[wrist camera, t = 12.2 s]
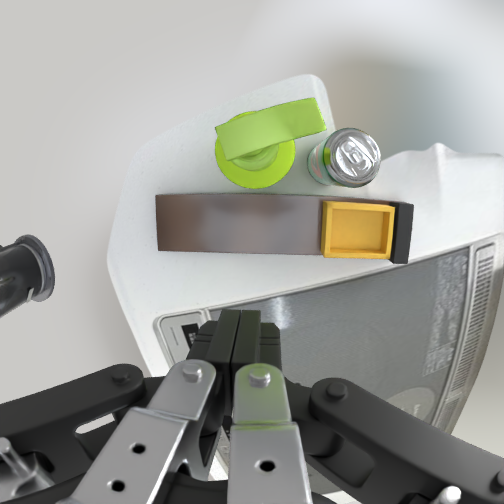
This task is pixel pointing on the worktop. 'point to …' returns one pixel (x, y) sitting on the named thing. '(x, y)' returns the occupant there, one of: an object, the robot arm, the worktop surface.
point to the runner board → (244, 222)
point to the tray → (356, 230)
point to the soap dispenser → (265, 142)
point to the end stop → (401, 232)
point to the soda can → (345, 159)
